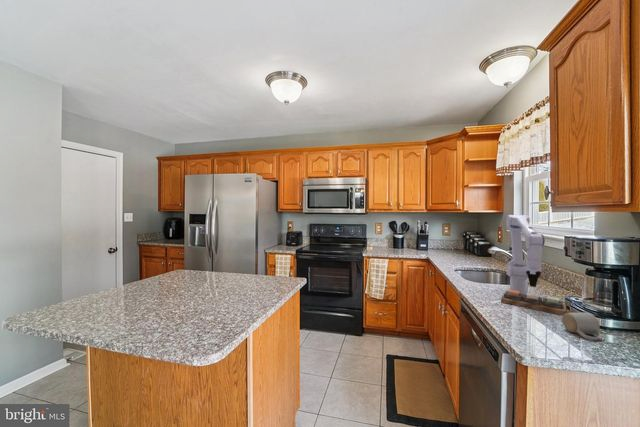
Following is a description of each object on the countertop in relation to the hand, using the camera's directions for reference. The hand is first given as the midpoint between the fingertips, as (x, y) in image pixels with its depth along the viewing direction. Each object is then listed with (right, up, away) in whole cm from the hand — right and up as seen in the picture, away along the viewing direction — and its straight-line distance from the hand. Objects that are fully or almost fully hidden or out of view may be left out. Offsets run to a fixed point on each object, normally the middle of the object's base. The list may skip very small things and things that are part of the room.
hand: (532, 286), depth 131 cm
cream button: (0, -6, 0) cm, 6 cm away
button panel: (0, -9, 0) cm, 9 cm away
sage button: (+5, -7, -5) cm, 10 cm away
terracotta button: (-6, -6, +5) cm, 10 cm away
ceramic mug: (-5, -10, -30) cm, 32 cm away
